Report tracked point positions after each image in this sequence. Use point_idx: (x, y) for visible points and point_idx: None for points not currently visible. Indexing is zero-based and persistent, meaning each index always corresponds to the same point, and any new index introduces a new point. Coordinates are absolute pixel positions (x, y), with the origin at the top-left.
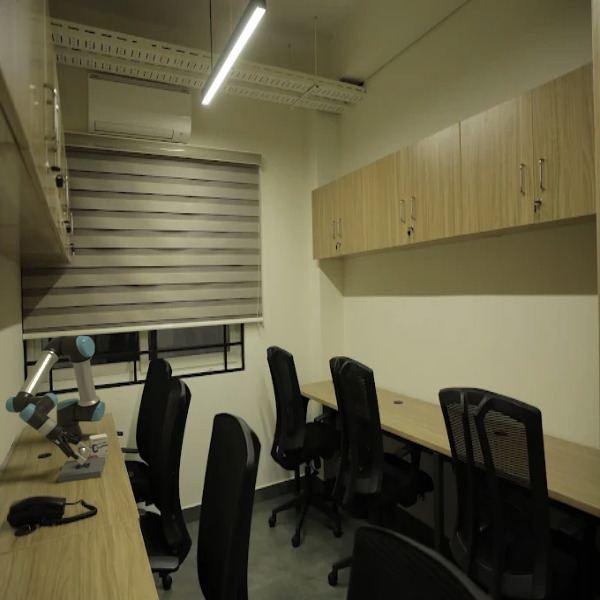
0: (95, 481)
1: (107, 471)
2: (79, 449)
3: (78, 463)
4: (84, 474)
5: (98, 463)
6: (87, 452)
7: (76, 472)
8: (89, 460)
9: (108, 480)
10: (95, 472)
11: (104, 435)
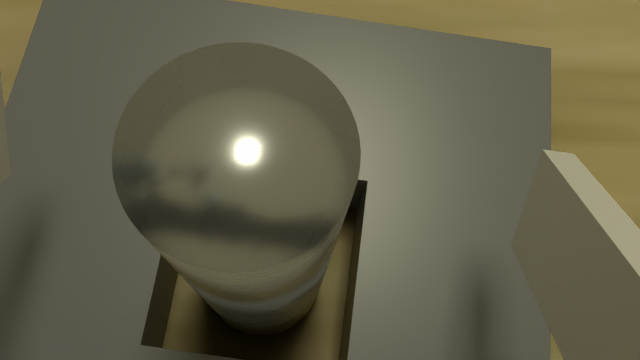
0: (616, 142)
1: (373, 19)
2: (336, 226)
3: (285, 313)
4: None
5: None
6: (6, 137)
7: (487, 346)
8: (67, 166)
9: (628, 25)
10: (546, 109)
11: None
